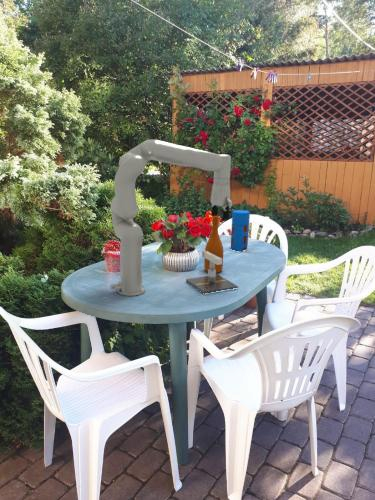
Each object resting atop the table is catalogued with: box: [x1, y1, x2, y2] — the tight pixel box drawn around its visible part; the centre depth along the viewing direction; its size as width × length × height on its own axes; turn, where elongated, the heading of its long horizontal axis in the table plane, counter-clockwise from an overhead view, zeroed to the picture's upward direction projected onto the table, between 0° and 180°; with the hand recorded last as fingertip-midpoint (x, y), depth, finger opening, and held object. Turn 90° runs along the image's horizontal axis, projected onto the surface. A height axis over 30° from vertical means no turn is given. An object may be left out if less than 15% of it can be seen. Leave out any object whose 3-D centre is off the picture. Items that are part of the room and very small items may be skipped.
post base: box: [185, 269, 239, 294], centre depth 177 cm, size 18×18×8 cm
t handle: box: [201, 250, 222, 270], centre depth 175 cm, size 3×14×7 cm, turn 26°
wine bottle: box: [203, 215, 224, 274], centre depth 195 cm, size 10×10×30 cm
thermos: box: [230, 209, 251, 252], centre depth 239 cm, size 11×11×25 cm
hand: (220, 217), depth 180 cm, fingers open, 9 cm apart
